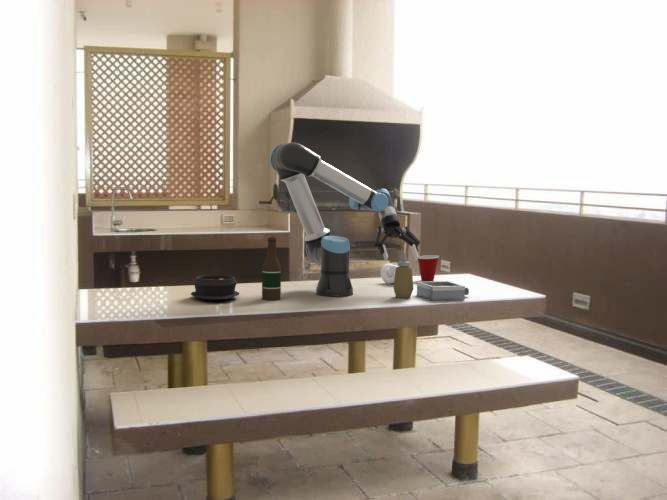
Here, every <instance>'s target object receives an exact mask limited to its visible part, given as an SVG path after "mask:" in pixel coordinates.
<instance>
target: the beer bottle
mask: <svg viewBox="0 0 667 500" xmlns="http://www.w3.org/2000/svg"><path fill="white" fill-rule="evenodd" d="M277 240H278V239H277V237H275V236H269V237H267V240H266V241H267V251H266V252H267V255H266V258H265V259H264V261H263V264H262V269H261V273H262V275H261V279H262V280H261V282H262V283H261V299H262V300H263V301H279V300H281V296H282V295H281V294H282V291H281V290H282V282H281V281H282V267H281V266H282V265H281V263H280V261H279V259H278V255H277Z"/></svg>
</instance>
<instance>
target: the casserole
mask: <svg viewBox="0 0 667 500" xmlns="http://www.w3.org/2000/svg"><path fill="white" fill-rule="evenodd" d="M192 284H193V285H194V289H195V291H192V292H191V293H190V295H191V296H192V297H195V298H198V299H200V300H204V301H210V302H211V301H215V302H216V301H218V302H219V301H226V300H231V299H233V298H235V297H238V296H239V295H240V292H239V291H237V290H236V286H237V284H238V281H237V280H236V277H235V276H232V275H227V274H204V275H197V276H195V278H194V280H193V282H192Z"/></svg>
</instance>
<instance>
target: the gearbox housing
mask: <svg viewBox="0 0 667 500" xmlns="http://www.w3.org/2000/svg"><path fill="white" fill-rule="evenodd" d="M416 282H417V283H416V296H419V297H421V298H424V299H425V300H426V299H427V300H429V301H432V302H438V301H439V302H441V301H465V296H467V295H469V293H470V290H469V288H468V287H466V285H465V286H464V285H463V284H459V283H456V282H452V281H449V280H444V281H443V280H439V281H437V280H436V281H434V280H433V281H416Z"/></svg>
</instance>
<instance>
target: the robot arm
mask: <svg viewBox="0 0 667 500" xmlns="http://www.w3.org/2000/svg"><path fill="white" fill-rule="evenodd" d="M269 163H270V166H271V167H272V169H273V170H274V171H275V172H277V173H276V174H277V175H278V177H279V180H280V182H284V183H285V186H286V187H287V191H288V192H289V196H290V198H291V200H292V204H293V206H294V208H295V210H296V213H297V215H298V218H299V222H300V223H301V225H302V228H303V230H304V233H305V235H304V240H303V241H304V243H305V245H306V246H305V253H306V255H307V256H306V257H308V259H309V260H310V261H312V262H313V263H314V264H317V265H320V275H319V279H318V282H317V285H316V289H315V293H316V295H318V296H319V295H320V296H325V297H346V296H347V297H348V296H351V295H353V294H354V288H353V285H352V280H351V278H350V257H351V256H350V253H351V245H350V240H349V238H347V237H343V236H339V235H332V232H331V230H330V228H327V227H325V225H324V222H323V219H322V217H321V215H320V212H319V211H320V210H319V209H318V206H317V204H316V201H315V198H314V196H313V194H312V191H311V188H310V186H309V184H308V181H307V179H306V177H308V178H309V177H312V178H315V179H316V180H318V181H319V182H322V183H323V184H325V185H327V186H329V187H330V188H332V189H334V190H336V191H338V192H339V193H341V194H343V195H344V196H346V197H349V198H348V199H349V200H348V202H349V203H348V204H349V207H350V208H351V209H352V210H356V211H358V210H361V211H371V212H377V214H378V217H379V221H380V223H381V226H382V227H381V226H378V227H377V229H376V237H375V241H374V244H373V247H374V248H377V249H378V250H379V251H380V254H382V256H383V259H384V262H387V261H388V259H389V254H388V250H387V248H386V245H385V242H386V241H387V240H388V239H389V238H391V239H393V238H394V239H395V238H396V239H397V238H398V239H400V240H402V241H403V242H405V243H407V245H408V246H410V247H411V248H410V249H411V251H412V252H411V253H412V255H413V258H414V261H418V257H419V256H420V255H419V253H418V252H419V245H420V243H421V240H419V239H418V238H417V236H416V235H414V234H413V232H412V231H411V230H410V228H409V226H404V227H401V223H400V220H399V218H398V215H397V214H398V213H397V211H396V209H395V205H394V202H393V198H392V196H391V194H390V192H389V191H388V190H387V189H386V188H380V189H376V190H374V189H372V188H370V187H369V186H367V185H366V184H363V183H361V182H360V181H358V180H356V179H355V178H353V177H352V176H351V175H348V174H346V173H345V172H343V171H341V170H340V169H338V168H336V167H335V166H333V165H332V164H329V163H327V162H325V160H322V159H321V156H320V155H319V154H317V153H316V152H314V151H313V150H311V149H310V148H308V147H306V146H304V145H303V144H301V143H298V142H286V143H280V144H279V145H277V146H275V147H274V148H273V149H272V150H271V152H270V155H269ZM382 233H384V234H385V235H384V236H383V238H382V239H381V235H382ZM380 239H381V241H380ZM379 241H380V242H379Z"/></svg>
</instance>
